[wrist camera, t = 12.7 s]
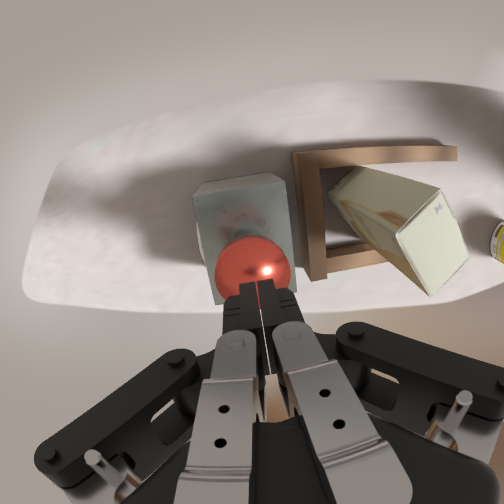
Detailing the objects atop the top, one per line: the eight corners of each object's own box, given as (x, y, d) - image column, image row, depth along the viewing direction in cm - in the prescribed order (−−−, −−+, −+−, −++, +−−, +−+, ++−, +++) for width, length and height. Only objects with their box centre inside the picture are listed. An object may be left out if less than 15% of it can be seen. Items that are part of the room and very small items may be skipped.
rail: (445, 145, 25) (462, 147, 22) (444, 241, 29) (459, 250, 26) (291, 152, 24) (298, 153, 22) (303, 268, 28) (311, 281, 25)
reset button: (275, 216, 18) (287, 235, 15) (282, 273, 20) (293, 303, 16) (212, 226, 18) (207, 247, 15) (223, 283, 20) (222, 315, 16)
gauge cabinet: (270, 172, 25) (285, 181, 18) (281, 257, 28) (296, 292, 21) (197, 183, 25) (186, 197, 18) (214, 267, 28) (210, 306, 21)
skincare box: (323, 193, 26) (390, 231, 14) (357, 163, 25) (440, 182, 14) (361, 242, 28) (431, 301, 16) (392, 213, 27) (472, 258, 16)
